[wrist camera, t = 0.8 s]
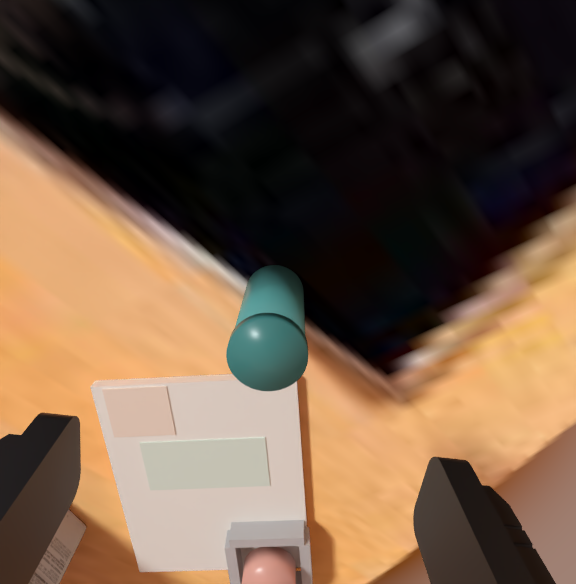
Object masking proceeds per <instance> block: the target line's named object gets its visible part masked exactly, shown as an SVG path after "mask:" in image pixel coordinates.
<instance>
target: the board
mask: <svg viewBox="0 0 576 584" xmlns="http://www.w3.org/2000/svg"><path fill="white" fill-rule="evenodd" d="M91 391H92V395H93V399H94V402H95V406H96V410H97V414H98V417H99V421H100V425H101V429H102V432H103V436H104V440H105V444H106V447H107V451H108V455H109V459H110V462H111V466H112V470H113V474H114V477H115V481H116V485H117V489H118V492H119V496H120V500H121V504H122V507H123V511H124V515H125V519H126V523H127V526H128V530H129V534H130V538H131V541H132V545H133V549H134V553H135V556H136V560H137V564H138V568H139V571H140V572H165V571H198V570H228V573H229V579H230V584H242V577H243V568H244V560H245V558H246V556H247V555H248V553H250V552H251V551H252V550H254V549H256V548H259V547H279V548H282V549H284V550H286V551H288V552H289V553H290V554H291V555H292V556H293V558H294V559H295V563H296V568H298V567H301V571H296V584H313V581H312V561H311V545H310V530H309V527H307V519H306V504H305V489H304V475H303V460H302V446H301V431H300V416H299V402H298V387H297V381H296V382H295V383H294V384H292V385H291V386H289V387H287V388H284V389H281V390H277V391H259V390H255V389H252V388H250V387H248V386H246V385H244V384H243V383H241V382H240V381H239V380H238V379H237V378H236V377H235V376H234V375H233V374H221V375H200V376H179V377H158V378H136V379H115V380H95V381H94V383H93V384H92V386H91Z"/></svg>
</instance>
